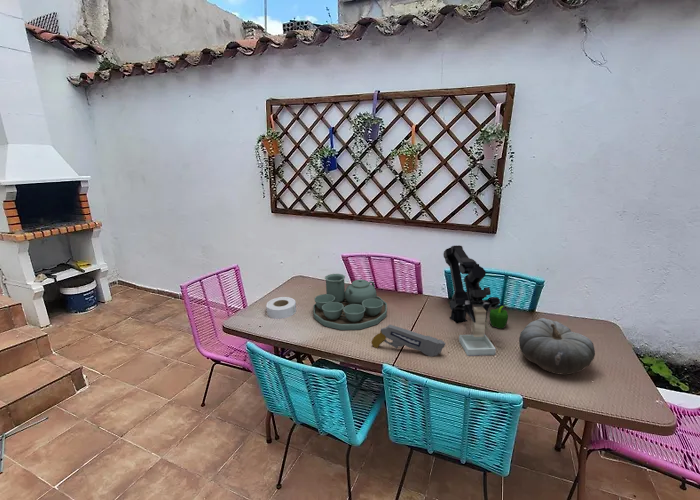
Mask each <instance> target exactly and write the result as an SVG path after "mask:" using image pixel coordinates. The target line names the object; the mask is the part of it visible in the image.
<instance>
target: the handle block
mask: <svg viewBox="0 0 700 500" xmlns="http://www.w3.org/2000/svg"><path fill="white" fill-rule="evenodd" d="M473 312H474V316H475V323H474V322H473V321H472V320H471V329H470V330H471V331H470V333H471V335H473V336H474V337H484V334H485V330H486V329H485V327H486V322H485V320H486V321H487V318H486V310H485V309H484V308H483V307H482V306H473Z"/></svg>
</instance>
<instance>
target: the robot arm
mask: <svg viewBox="0 0 700 500" xmlns="http://www.w3.org/2000/svg"><path fill="white" fill-rule="evenodd" d="M463 247H464V246H462V245H452V246H450V247H448V248H446V249H445V250H444V251H443V253H442V255H443V258H444V260H445V263H446V264H447V265H448V266H449V270H450V276H451V277H450V278H451V281H452V287H453V288H452V289H453V294H452V296H451V300H450V301H449V308H450V309H451V312H450V316H449V319H450V320H452V321H453V322H454V323H455V324H463V323H466V322H468V321H469V319H467V315H468V316H469V318H470V319H471V322H472V321H473V322H474V323H475V316H474V312H473V307H474V306H476V305H478V306H481V307H483V308H484V309H485V310H486V320H485V323H487V316H488V310H489V309H490V308H497V306H498V305H500V304H501V300H500V298H499V297H498V296H492V297H491V296H490V295H491V291H492V290H491V288H490V287H489V286H488V287H484V288H483V289H482V287H481V286H480V283H481V282H482V280H483V279H484V277H485V276H486V275H487V273H486V270H485V269H484V268H483V266H480V263H477V261H476V260H474V259H473V258H470V257H469V256H468V255H467V253H466V252H465V250H464V248H463ZM461 274H462V275H465V277H464V278H463V279H462V275H461ZM463 282H464V284H463ZM464 285H465V288H464ZM465 289H466V290H465ZM487 296H490V297H488V298H487ZM485 298H487V299H485Z"/></svg>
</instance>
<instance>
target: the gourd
mask: <svg viewBox="0 0 700 500" xmlns="http://www.w3.org/2000/svg"><path fill="white" fill-rule="evenodd" d="M518 341H519V349H520V351H521V354H523V355H524V357H525V358H526V359H528V361H529V362H531V363H534V364H535V365H537V366H539V368H540V369H542V370H544V371H547V372H550V373H553V374H556V375H571V374H575V373H579V372H581V371H583V370H585V368H587V367H588V366H590V364H591V363H592V362H593V360H594V359H595V356H596V351H595V350H596V349H595V346H594V343H593V341H592V340H591V339H590V338H589V337H587V336H585V335H583V334H581V333H579V332H574V331H572V330H571V328H569V327H568V326H566V325H564V324H563V323H562V322H559V321H554V320H552V319H547V318H545V317H541V318H539V319H536V320H533V321H531V322H529V323H528V324H527V325H526V326H525V327H524V328H523V329H522V330H521V332H520V334H519V338H518Z"/></svg>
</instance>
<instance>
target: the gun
mask: <svg viewBox="0 0 700 500" xmlns="http://www.w3.org/2000/svg"><path fill="white" fill-rule="evenodd" d="M387 339H388V340H390V341H392V342H390V341H388V340H387ZM370 343H371V345H372V347H374V348H375V349H378V348H379V347H380V345H381V344H382V343H386V344H388V345H389V346H391V347H394V348H395V349H398V348H403V347H404V346H405V347H408V348H411V349H413V350H416V351H419V352H421V353H422V354H423V355H426V356H427V357H437V356H438V355H439V354H442V350H443V349H444V348H445V347H446V342H445V341H444V340H442V339H440V338H439V339H438V338H436V337H433V336H430V335H424V334H421V333H418V332H415V331H412V330H410V329H409V330H408V329H406V328H402V327H399V326H396V325H392V324H388V325H386V326H385V327H382V328H380V332H379V333H377V334H376V335H375V336H374V337H373V338H372V340H371V342H370Z"/></svg>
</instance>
